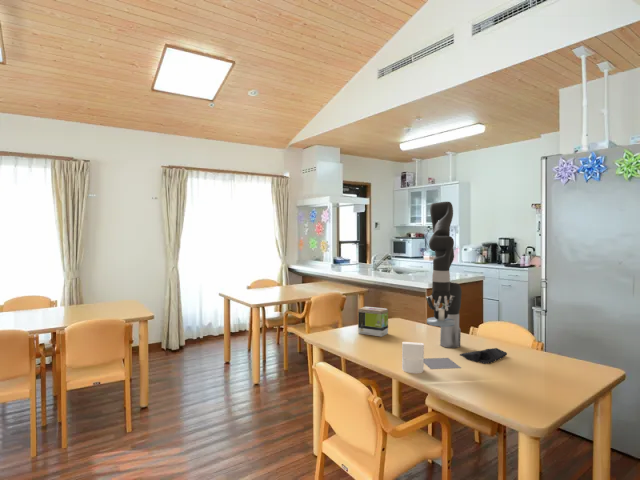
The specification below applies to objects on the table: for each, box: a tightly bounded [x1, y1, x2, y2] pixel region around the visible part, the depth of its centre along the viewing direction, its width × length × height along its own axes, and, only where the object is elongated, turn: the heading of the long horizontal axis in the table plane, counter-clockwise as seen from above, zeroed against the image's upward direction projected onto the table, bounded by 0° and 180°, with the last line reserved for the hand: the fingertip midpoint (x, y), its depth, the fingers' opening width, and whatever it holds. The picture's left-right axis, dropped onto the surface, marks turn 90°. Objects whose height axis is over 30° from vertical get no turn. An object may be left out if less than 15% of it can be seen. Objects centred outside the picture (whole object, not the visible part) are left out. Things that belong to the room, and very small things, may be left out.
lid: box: [426, 307, 455, 328], centre depth 183 cm, size 12×12×6 cm
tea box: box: [357, 306, 389, 337], centre depth 237 cm, size 15×10×15 cm, turn 58°
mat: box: [424, 357, 462, 370], centre depth 184 cm, size 14×14×1 cm
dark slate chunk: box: [459, 347, 508, 365], centre depth 194 cm, size 15×22×5 cm
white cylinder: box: [401, 341, 425, 374], centre depth 175 cm, size 9×9×12 cm
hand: (440, 318), depth 183 cm, fingers closed on lid, 3 cm apart
